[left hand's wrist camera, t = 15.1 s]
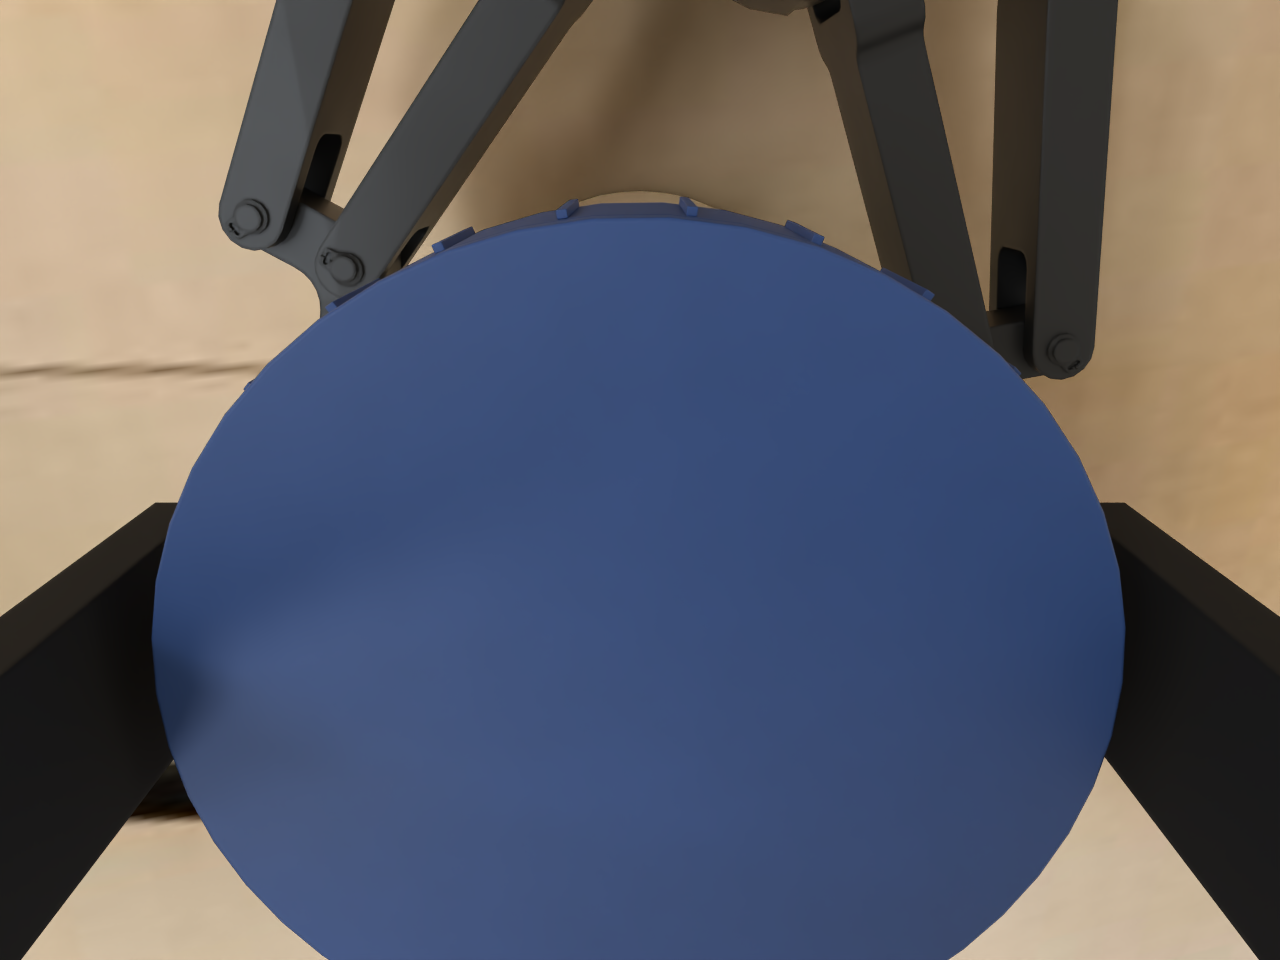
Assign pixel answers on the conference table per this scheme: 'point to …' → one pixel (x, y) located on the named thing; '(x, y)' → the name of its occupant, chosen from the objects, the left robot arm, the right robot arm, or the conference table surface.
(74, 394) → the conference table surface
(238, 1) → the conference table surface
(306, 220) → the right robot arm
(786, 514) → the lid
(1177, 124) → the conference table surface
